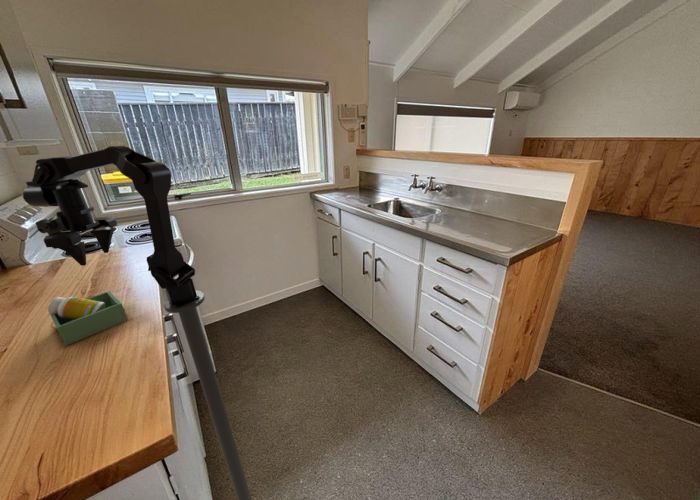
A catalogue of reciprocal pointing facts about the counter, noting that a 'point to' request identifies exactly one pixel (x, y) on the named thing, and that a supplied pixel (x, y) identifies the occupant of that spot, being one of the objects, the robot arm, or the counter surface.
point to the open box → (91, 319)
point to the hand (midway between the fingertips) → (95, 258)
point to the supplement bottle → (74, 307)
